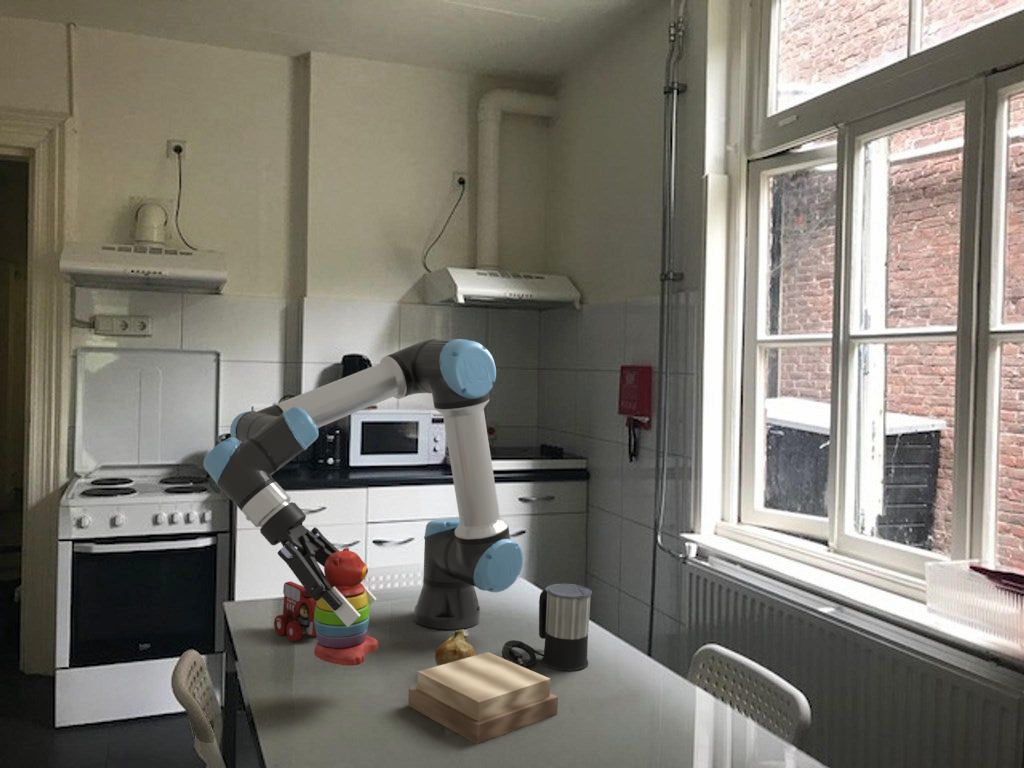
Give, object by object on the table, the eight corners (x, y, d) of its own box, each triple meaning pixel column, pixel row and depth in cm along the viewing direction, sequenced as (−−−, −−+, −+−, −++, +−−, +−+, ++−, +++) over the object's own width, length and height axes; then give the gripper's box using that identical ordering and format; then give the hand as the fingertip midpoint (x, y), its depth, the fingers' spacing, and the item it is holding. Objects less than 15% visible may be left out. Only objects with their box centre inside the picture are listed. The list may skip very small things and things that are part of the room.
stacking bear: (358, 667, 137) (361, 560, 136) (301, 661, 139) (304, 555, 138) (381, 645, 147) (384, 546, 147) (328, 640, 149) (331, 541, 149)
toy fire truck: (300, 646, 168) (302, 595, 168) (269, 631, 177) (271, 582, 177) (329, 639, 173) (331, 590, 173) (298, 624, 182) (300, 577, 182)
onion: (428, 667, 160) (430, 626, 160) (468, 663, 163) (469, 623, 163) (440, 682, 153) (442, 639, 153) (481, 677, 156) (483, 635, 156)
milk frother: (598, 664, 165) (601, 590, 165) (546, 684, 154) (549, 605, 154) (544, 645, 175) (547, 575, 175) (492, 662, 164) (495, 588, 164)
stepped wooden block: (487, 681, 154) (488, 649, 154) (557, 714, 141) (558, 679, 141) (408, 705, 142) (409, 671, 142) (476, 744, 129) (478, 706, 128)
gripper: (284, 517, 155) (365, 608, 153) (232, 543, 133) (326, 648, 132) (312, 490, 154) (394, 581, 153) (264, 512, 133) (359, 617, 131)
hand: (362, 612), depth 142 cm, fingers closed on stacking bear, 9 cm apart
